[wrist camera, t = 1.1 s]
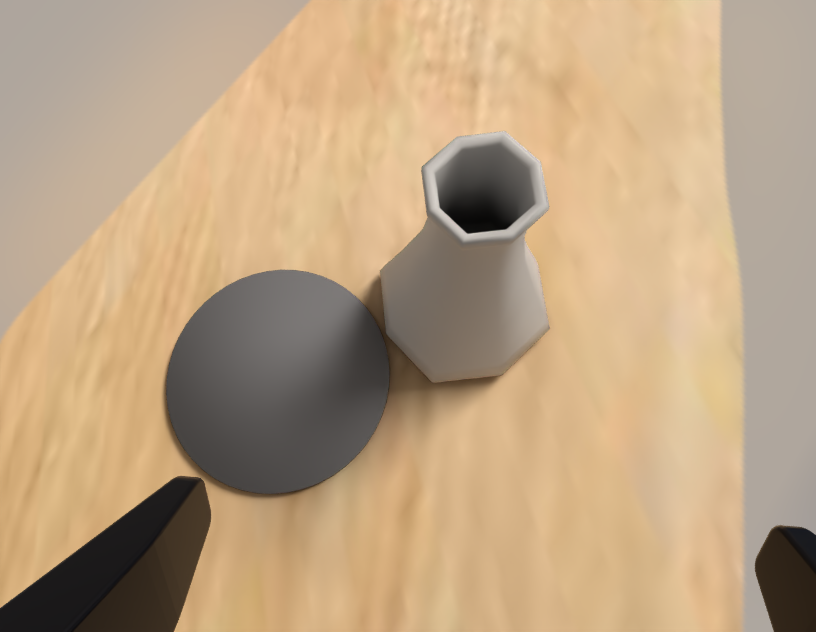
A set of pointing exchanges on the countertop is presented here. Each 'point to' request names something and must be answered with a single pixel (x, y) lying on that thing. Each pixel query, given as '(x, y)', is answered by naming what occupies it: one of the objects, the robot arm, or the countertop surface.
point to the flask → (470, 263)
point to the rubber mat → (277, 381)
